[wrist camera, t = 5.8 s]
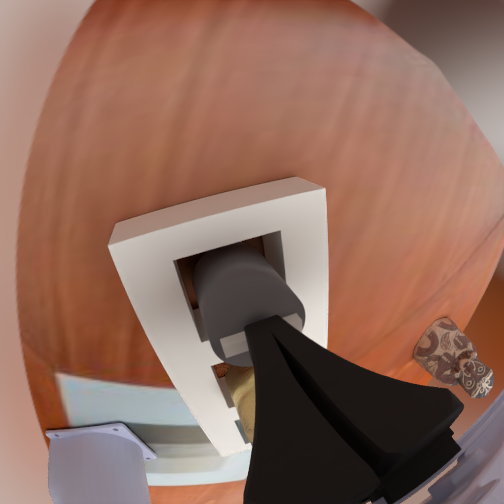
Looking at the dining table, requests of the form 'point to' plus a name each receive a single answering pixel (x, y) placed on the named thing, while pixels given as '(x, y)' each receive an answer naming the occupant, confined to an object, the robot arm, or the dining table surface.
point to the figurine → (453, 358)
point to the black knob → (240, 298)
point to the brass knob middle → (243, 395)
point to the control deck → (190, 321)
